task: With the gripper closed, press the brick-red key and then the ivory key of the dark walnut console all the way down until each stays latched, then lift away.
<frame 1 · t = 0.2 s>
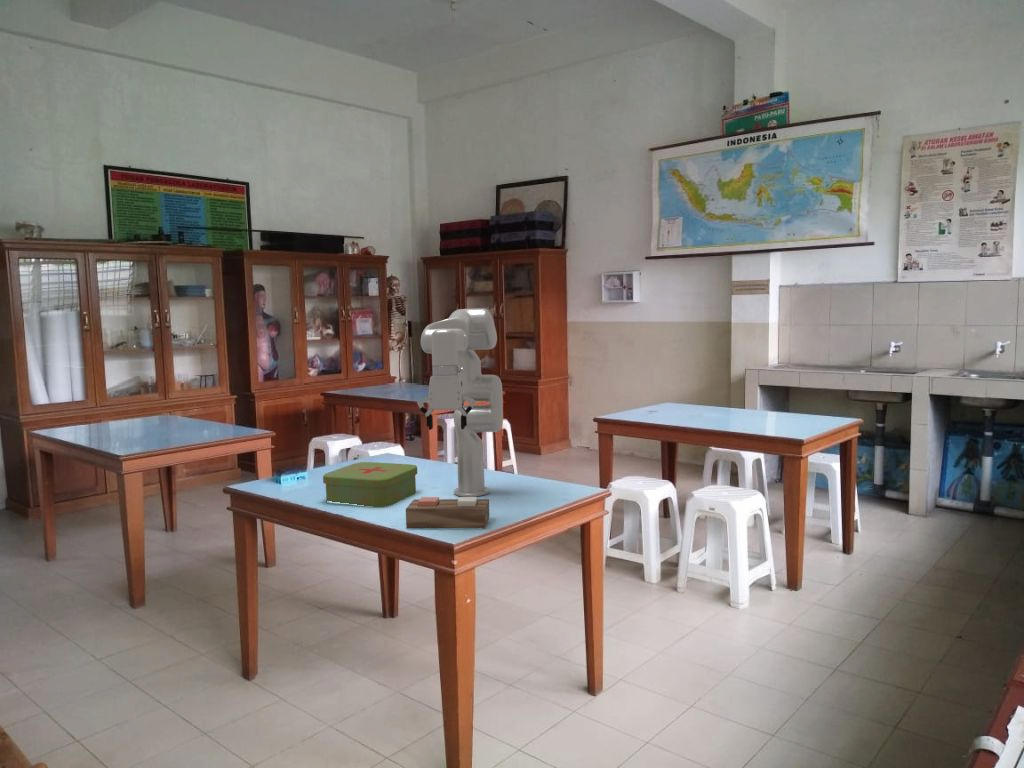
hand: (446, 428, 225), 30 cm above the table, tool pointing down, fingers open, 9 cm apart
first aid kit: (372, 498, 270), on the table
console: (448, 523, 234), on the table
key red: (429, 506, 234), point 5 cm above the table, slide at 0.0 cm
key ivory: (467, 506, 233), point 5 cm above the table, slide at 0.0 cm
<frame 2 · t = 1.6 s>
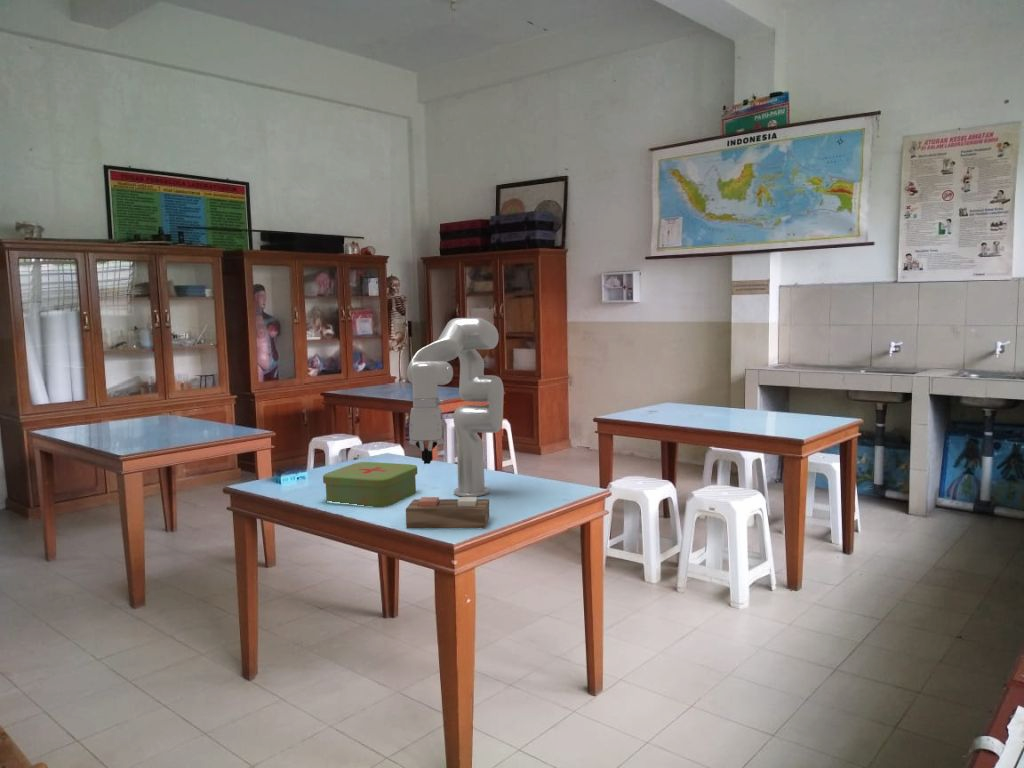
hand: (427, 463, 232), 19 cm above the table, tool pointing down, fingers closed
nothing on the table moved.
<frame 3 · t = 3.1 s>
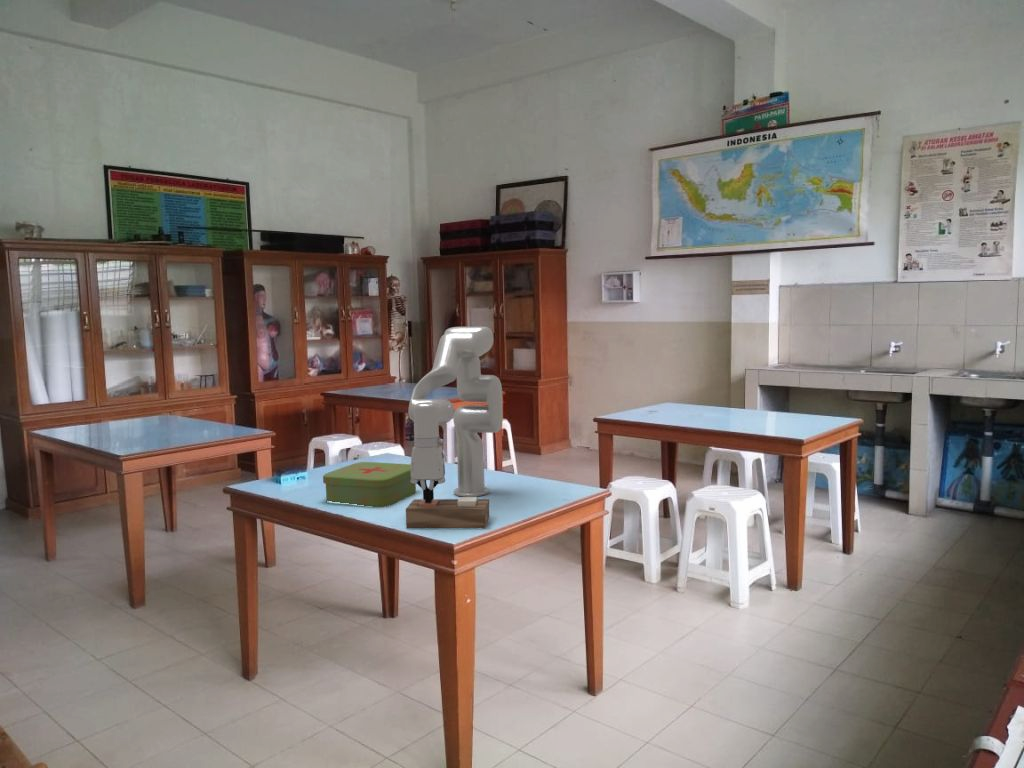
hand: (428, 501, 233), 7 cm above the table, tool pointing down, fingers closed
key red: (429, 508, 234), point 4 cm above the table, slide at 0.8 cm, touching gripper
everything else where it was.
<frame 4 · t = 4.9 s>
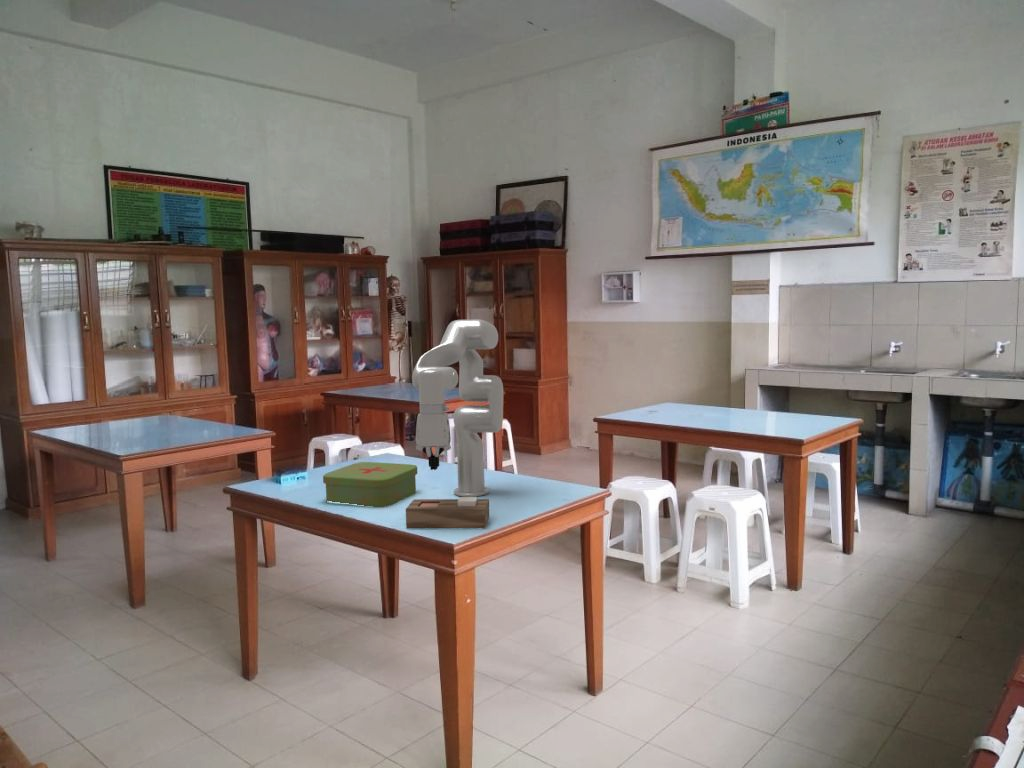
hand: (434, 468, 233), 17 cm above the table, tool pointing down, fingers closed
key red: (429, 512, 234), point 3 cm above the table, slide at 1.9 cm
everything else where it was.
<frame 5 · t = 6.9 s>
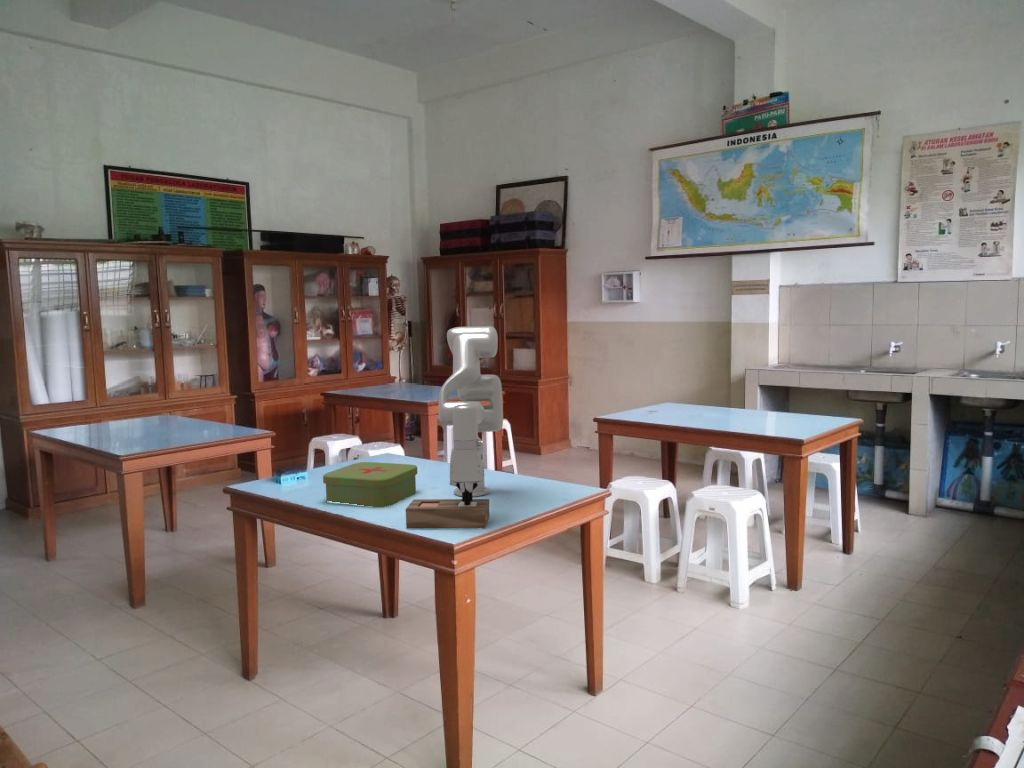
hand: (467, 504, 233), 6 cm above the table, tool pointing down, fingers closed
key ivory: (467, 511, 233), point 4 cm above the table, slide at 1.5 cm, touching gripper
everything else where it was.
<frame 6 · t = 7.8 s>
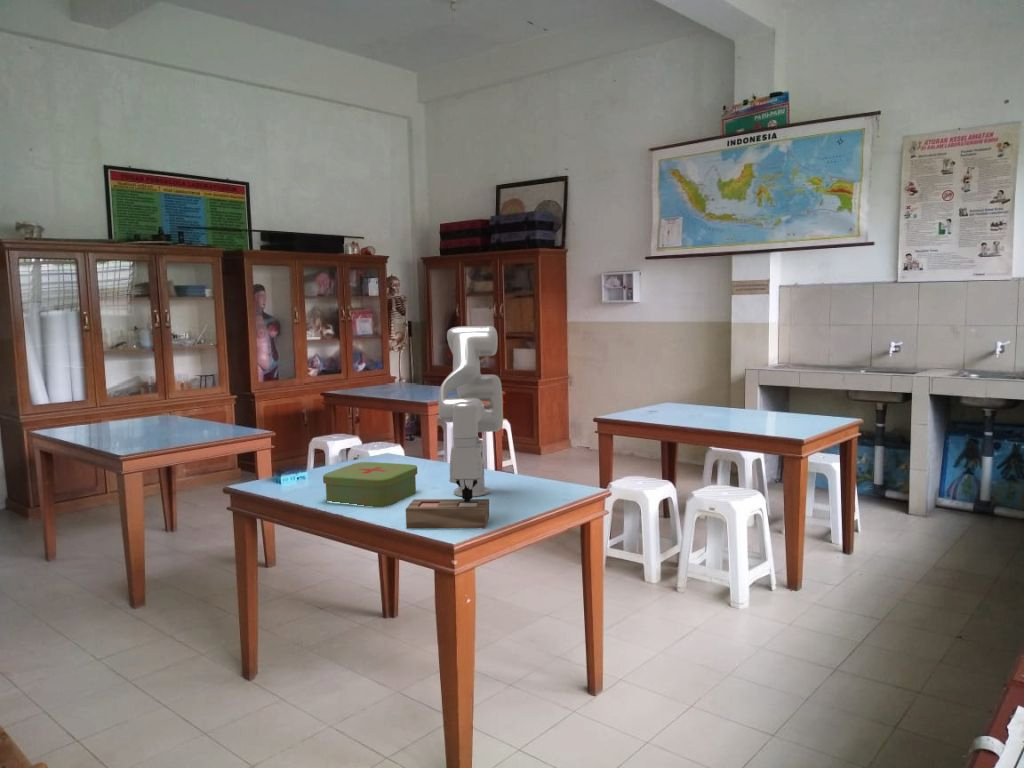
hand: (467, 500, 233), 7 cm above the table, tool pointing down, fingers closed
key ivory: (467, 512, 233), point 3 cm above the table, slide at 1.9 cm
everything else where it was.
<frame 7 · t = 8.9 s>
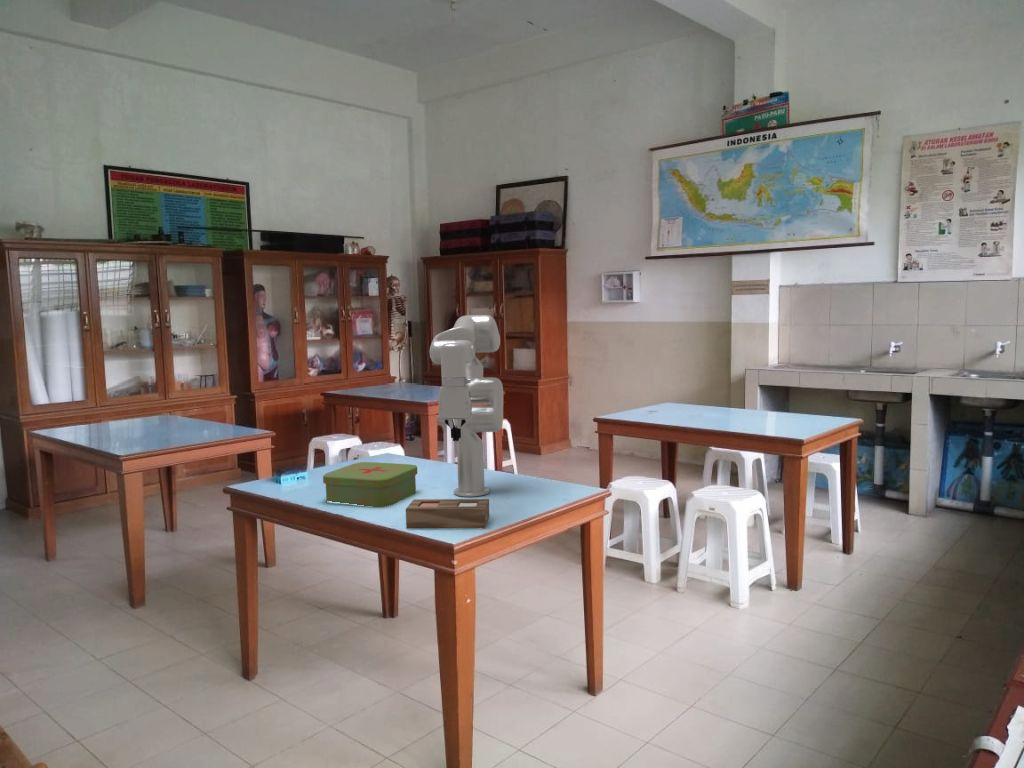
hand: (456, 440, 238), 25 cm above the table, tool pointing down, fingers closed
nothing on the table moved.
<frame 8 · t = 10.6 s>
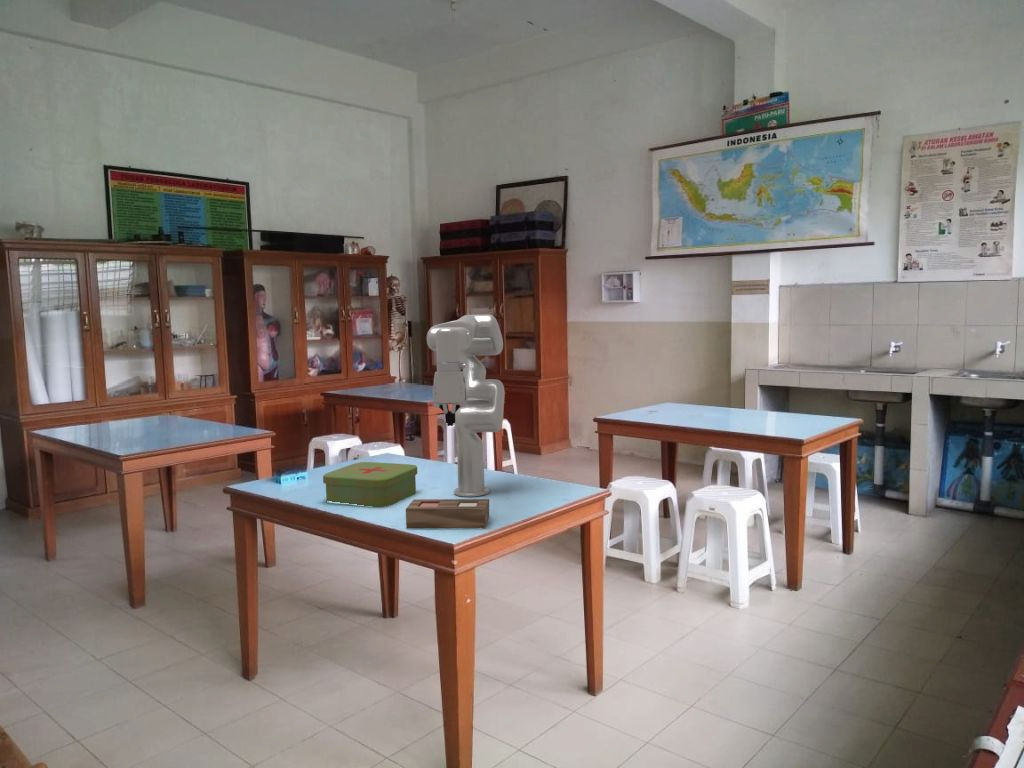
hand: (450, 425, 240), 29 cm above the table, tool pointing down, fingers closed
nothing on the table moved.
at the end: key red slide at 1.9 cm; key ivory slide at 1.9 cm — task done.
